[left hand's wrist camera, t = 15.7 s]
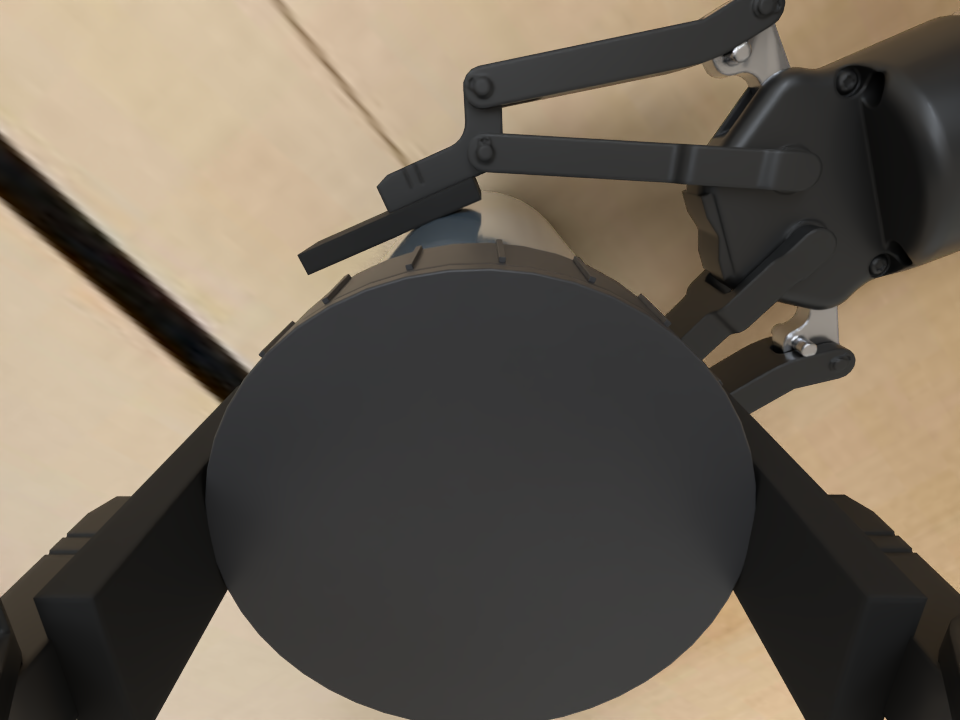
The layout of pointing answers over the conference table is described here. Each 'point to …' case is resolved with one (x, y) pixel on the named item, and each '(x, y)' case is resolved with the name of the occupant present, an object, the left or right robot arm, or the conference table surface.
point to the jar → (486, 228)
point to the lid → (480, 488)
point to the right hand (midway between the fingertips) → (372, 368)
